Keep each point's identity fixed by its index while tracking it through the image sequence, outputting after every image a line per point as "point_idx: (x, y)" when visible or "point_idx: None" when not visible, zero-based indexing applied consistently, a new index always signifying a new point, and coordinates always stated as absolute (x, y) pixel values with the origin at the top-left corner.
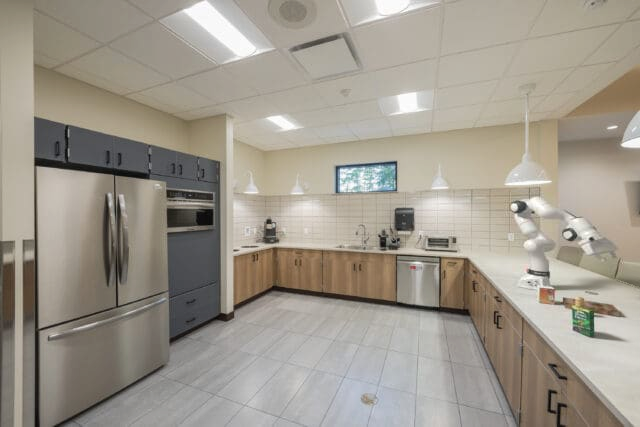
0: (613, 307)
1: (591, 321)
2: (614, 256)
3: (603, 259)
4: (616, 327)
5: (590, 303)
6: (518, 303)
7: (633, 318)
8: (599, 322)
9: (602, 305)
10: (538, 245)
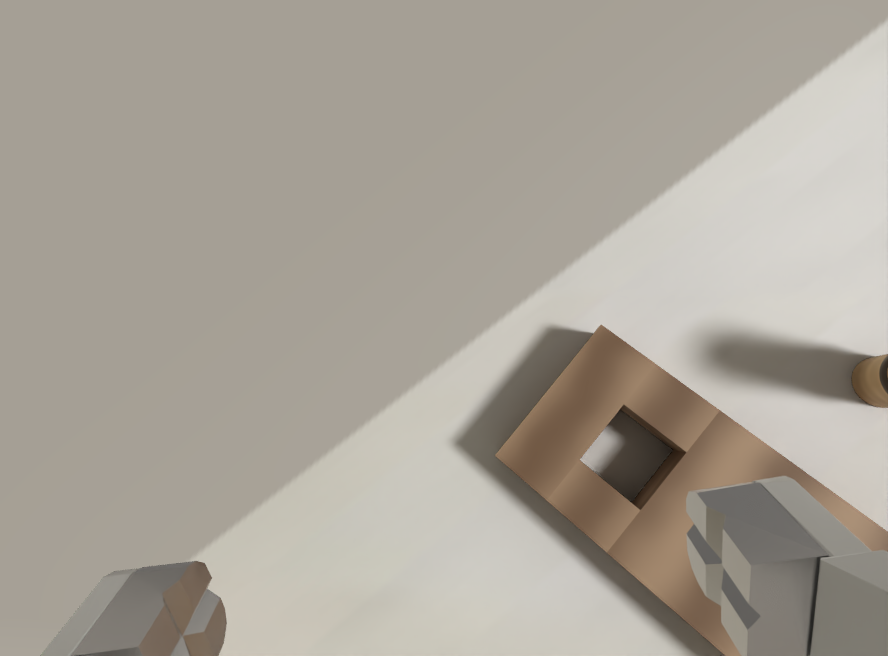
0: (559, 396)
1: None
2: (165, 621)
3: (812, 496)
4: (807, 176)
5: (662, 500)
6: None
7: (517, 312)
8: (851, 248)
9: (581, 462)
10: None
